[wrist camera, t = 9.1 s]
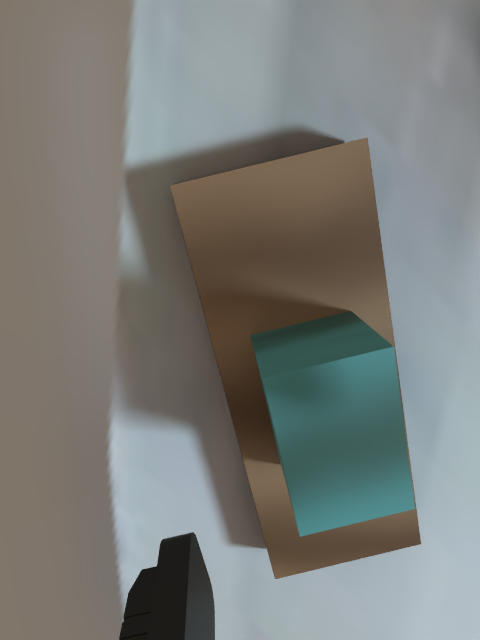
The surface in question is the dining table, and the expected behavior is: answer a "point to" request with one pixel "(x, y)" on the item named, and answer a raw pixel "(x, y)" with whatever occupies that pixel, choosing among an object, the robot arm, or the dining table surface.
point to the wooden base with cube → (306, 351)
